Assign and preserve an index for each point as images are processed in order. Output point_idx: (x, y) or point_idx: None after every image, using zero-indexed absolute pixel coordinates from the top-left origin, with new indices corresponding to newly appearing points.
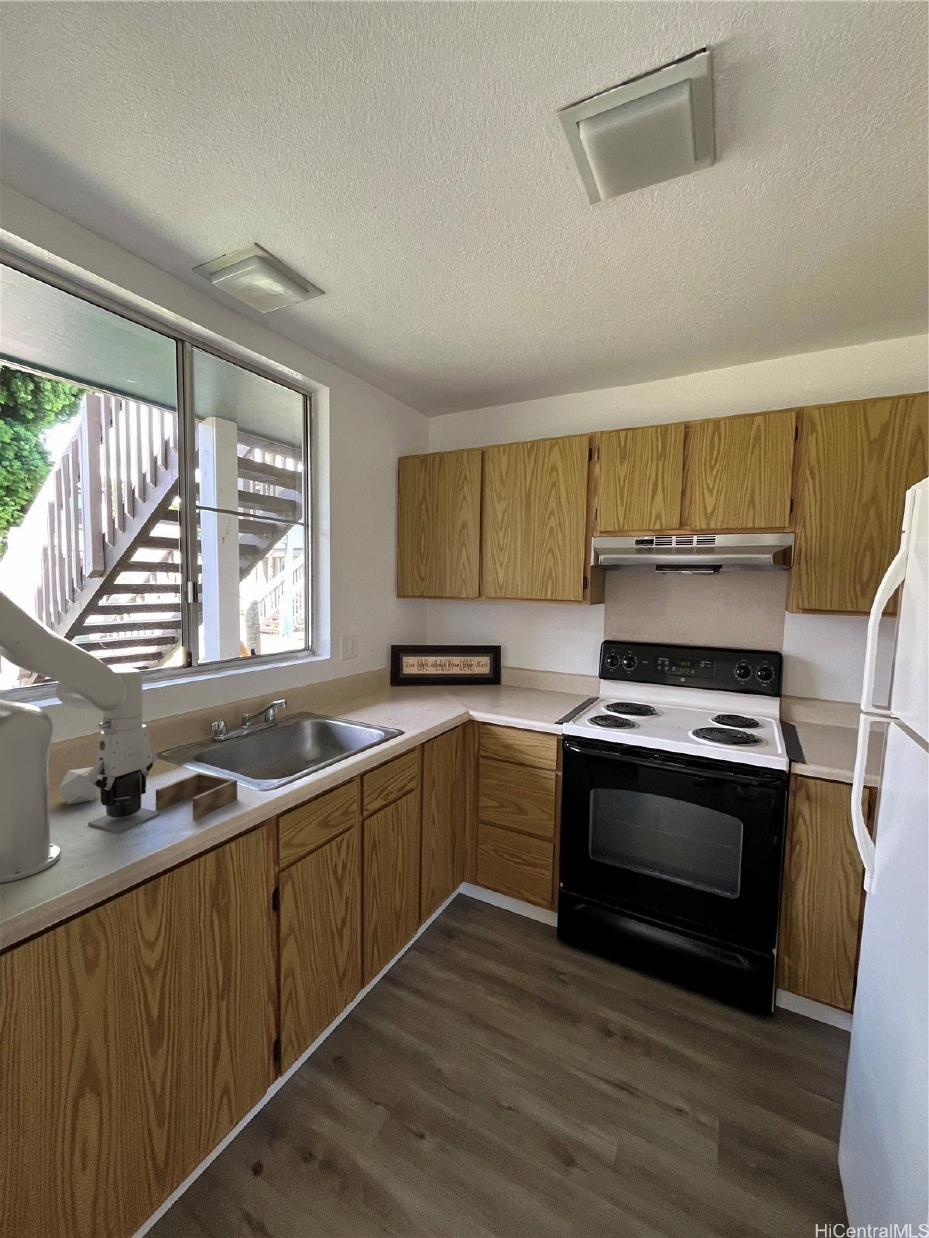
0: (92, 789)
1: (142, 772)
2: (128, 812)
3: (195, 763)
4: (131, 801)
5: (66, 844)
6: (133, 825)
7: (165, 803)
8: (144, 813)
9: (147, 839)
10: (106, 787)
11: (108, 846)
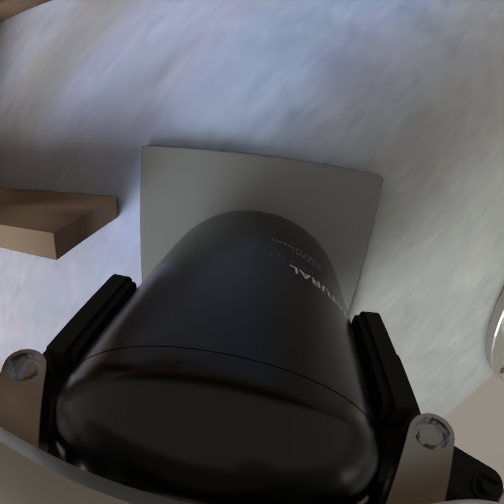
0: None
1: (40, 401)
2: (294, 225)
3: None
4: (278, 242)
5: (466, 299)
6: (303, 162)
7: (76, 198)
8: (181, 215)
9: (383, 6)
10: (450, 434)
11: (472, 131)
